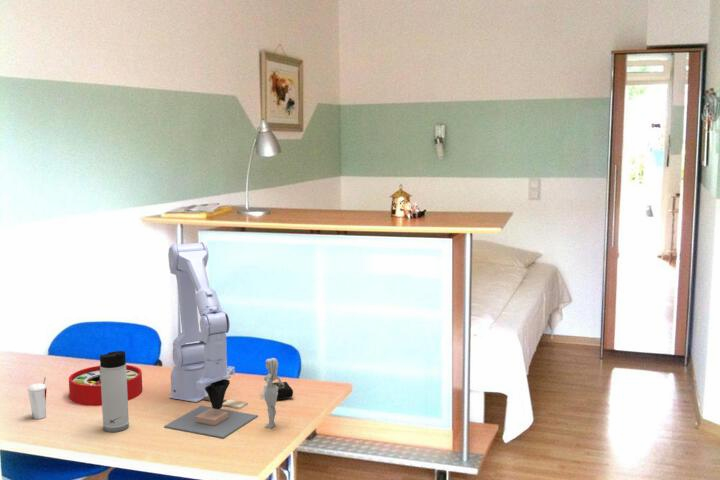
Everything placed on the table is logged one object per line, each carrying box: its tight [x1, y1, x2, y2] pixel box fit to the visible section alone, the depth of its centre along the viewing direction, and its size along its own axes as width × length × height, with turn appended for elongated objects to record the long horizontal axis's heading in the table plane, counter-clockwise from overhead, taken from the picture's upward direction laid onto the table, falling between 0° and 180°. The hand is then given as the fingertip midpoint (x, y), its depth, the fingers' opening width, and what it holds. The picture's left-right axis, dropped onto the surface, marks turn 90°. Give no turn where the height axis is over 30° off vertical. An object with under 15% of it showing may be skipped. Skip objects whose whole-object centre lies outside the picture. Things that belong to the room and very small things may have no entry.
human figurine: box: [259, 357, 284, 429], centre depth 191 cm, size 12×4×18 cm, turn 160°
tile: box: [195, 409, 228, 426], centre depth 196 cm, size 6×2×6 cm
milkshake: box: [27, 376, 48, 420], centre depth 199 cm, size 4×5×10 cm
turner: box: [202, 396, 249, 410], centre depth 210 cm, size 13×4×1 cm, turn 66°
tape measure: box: [272, 381, 294, 400], centre depth 214 cm, size 7×7×4 cm
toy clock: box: [68, 364, 143, 407], centre depth 218 cm, size 20×6×20 cm
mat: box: [163, 405, 259, 440], centre depth 196 cm, size 18×16×1 cm
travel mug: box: [99, 350, 130, 433], centre depth 191 cm, size 6×7×20 cm
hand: (217, 408), depth 198 cm, fingers closed
